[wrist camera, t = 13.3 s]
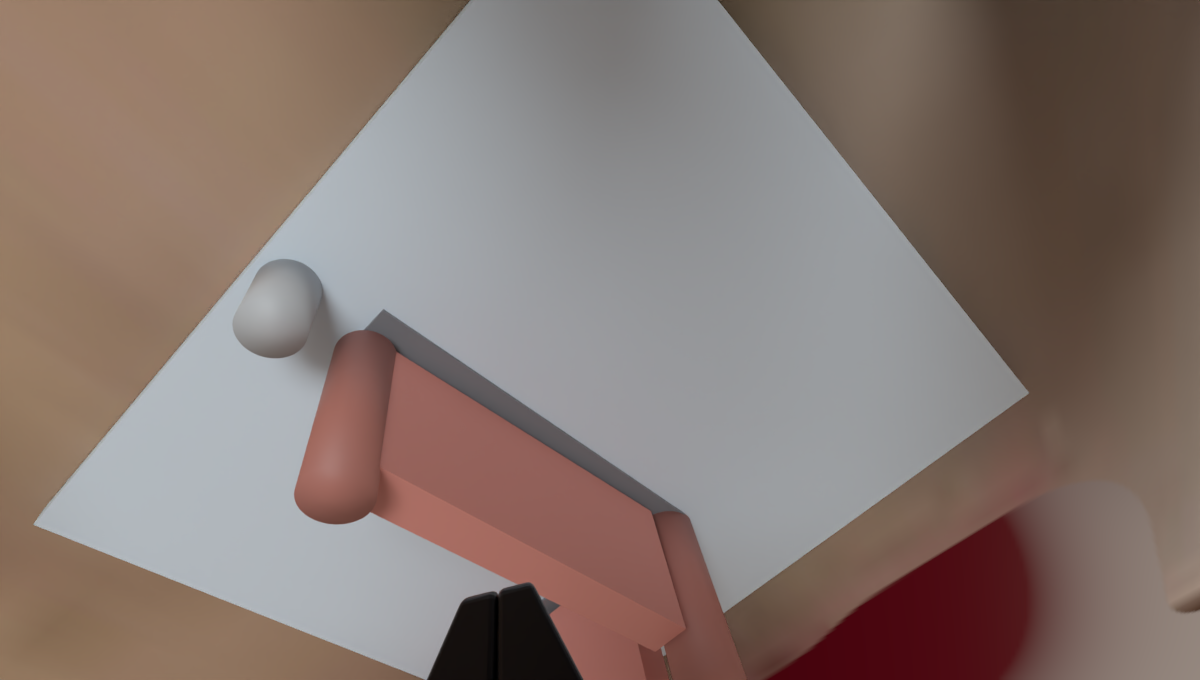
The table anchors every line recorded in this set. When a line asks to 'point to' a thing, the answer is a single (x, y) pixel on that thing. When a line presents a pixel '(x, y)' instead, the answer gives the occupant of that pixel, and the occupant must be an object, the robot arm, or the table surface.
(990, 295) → the table surface
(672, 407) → the card
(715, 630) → the fence fixed panel
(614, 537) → the panel
